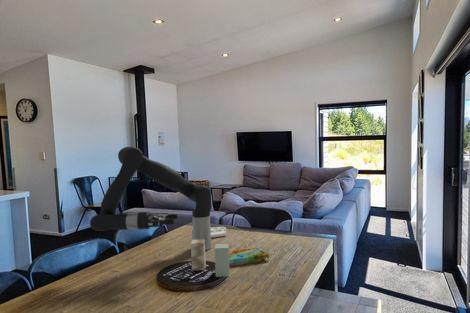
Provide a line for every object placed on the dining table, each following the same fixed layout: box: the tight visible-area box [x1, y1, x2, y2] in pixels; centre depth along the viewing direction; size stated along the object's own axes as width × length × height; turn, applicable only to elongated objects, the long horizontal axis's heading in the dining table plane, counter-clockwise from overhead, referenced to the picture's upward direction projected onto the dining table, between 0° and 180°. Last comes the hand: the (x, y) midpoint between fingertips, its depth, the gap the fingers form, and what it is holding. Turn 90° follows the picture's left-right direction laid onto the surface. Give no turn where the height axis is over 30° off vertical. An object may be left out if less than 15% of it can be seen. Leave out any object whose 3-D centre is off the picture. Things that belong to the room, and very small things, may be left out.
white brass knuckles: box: [210, 226, 227, 239], centre depth 204 cm, size 3×18×15 cm
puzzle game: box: [229, 246, 270, 267], centre depth 158 cm, size 12×5×20 cm
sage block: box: [214, 243, 230, 278], centre depth 142 cm, size 6×6×12 cm
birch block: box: [190, 239, 207, 271], centre depth 150 cm, size 6×6×12 cm
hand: (175, 219), depth 149 cm, fingers open, 8 cm apart
